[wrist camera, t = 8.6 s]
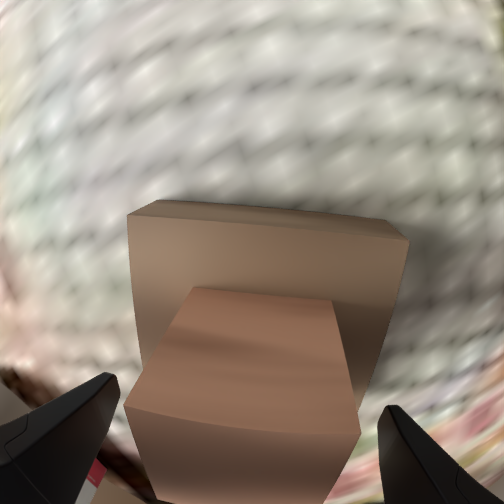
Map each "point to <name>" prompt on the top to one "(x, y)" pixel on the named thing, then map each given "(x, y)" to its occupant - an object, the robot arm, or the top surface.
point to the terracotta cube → (245, 402)
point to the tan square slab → (268, 267)
